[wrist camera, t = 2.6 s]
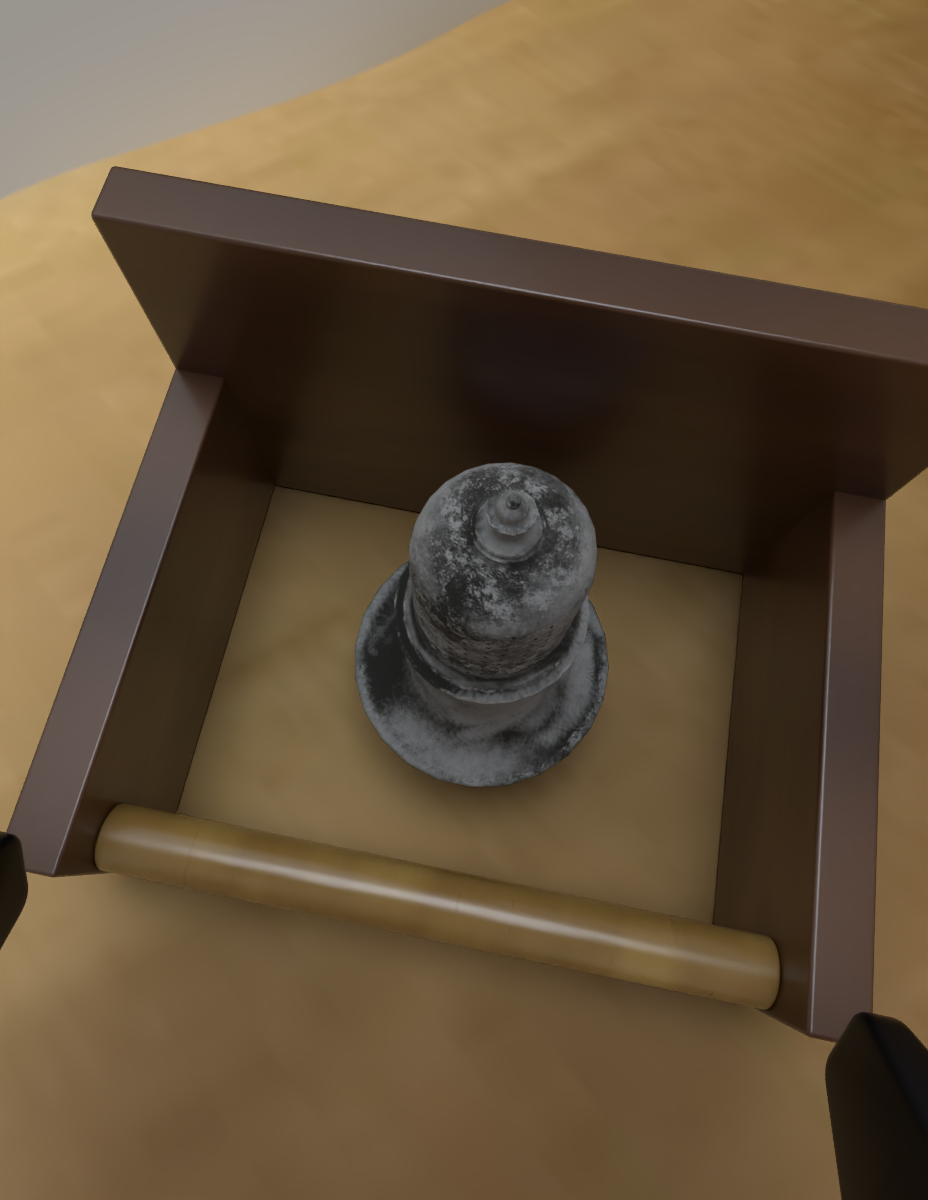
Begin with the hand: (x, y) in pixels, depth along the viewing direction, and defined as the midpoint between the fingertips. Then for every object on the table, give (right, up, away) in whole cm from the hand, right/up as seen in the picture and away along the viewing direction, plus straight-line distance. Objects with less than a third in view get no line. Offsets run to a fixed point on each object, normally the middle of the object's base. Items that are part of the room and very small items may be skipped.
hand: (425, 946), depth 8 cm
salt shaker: (+1, +1, +13) cm, 13 cm away
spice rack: (+1, +1, +13) cm, 13 cm away
